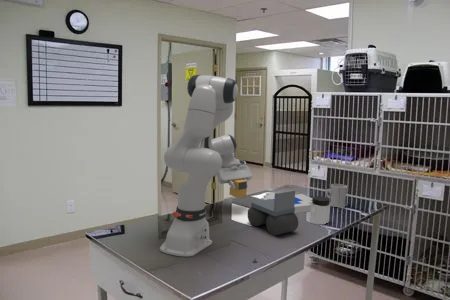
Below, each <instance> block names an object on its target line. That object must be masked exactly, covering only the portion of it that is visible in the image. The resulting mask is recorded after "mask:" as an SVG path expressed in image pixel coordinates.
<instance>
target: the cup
mask: <svg viewBox="0 0 450 300" xmlns="http://www.w3.org/2000/svg"><path fill="white" fill-rule="evenodd" d="M347 191H348V185H346V184H341V183H331V184H330V188H327V189H326V190H325V197H327V198H329V199H330V203H329V204H330V207H331V208H334V207H345V206H346V207H347V204H346V199H347ZM329 192H330V195H329ZM346 207H345V208H346Z"/></svg>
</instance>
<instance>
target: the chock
mask: <svg viewBox="0 0 450 300" xmlns="http://www.w3.org/2000/svg"><path fill="white" fill-rule="evenodd" d="M233 184H234V185H236V187H237V189H235V190H233V188H232V187H231V186H230V187H229V195H230V196H232V197H234V198H237V199H239V198H245V197H247V192H248V191H247V189H248V187H247V185H248V180H247V181H245V180H235V181H234V182H233Z"/></svg>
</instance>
